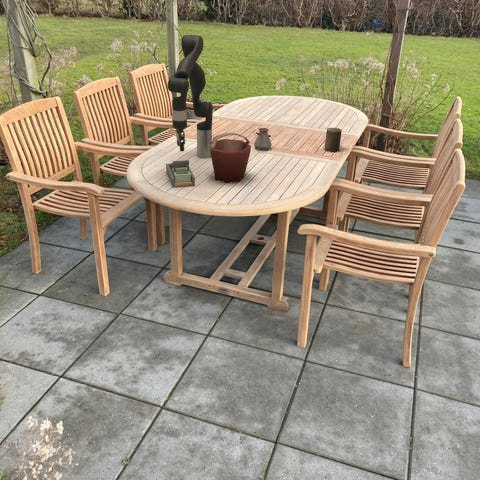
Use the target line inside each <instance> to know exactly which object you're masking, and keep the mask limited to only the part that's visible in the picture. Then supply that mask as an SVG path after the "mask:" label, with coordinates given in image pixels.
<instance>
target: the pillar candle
mask: <svg viewBox="0 0 480 480" xmlns="http://www.w3.org/2000/svg"><path fill="white" fill-rule="evenodd" d="M342 131H343V130H342V128H339V127H328V128H327V127H326V133H325V139H324V140H325V141H324V151H326V152H328V151H329V153H338V152H340V147H341V138H342ZM337 151H338V152H337Z"/></svg>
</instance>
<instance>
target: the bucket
mask: <svg viewBox="0 0 480 480" xmlns="http://www.w3.org/2000/svg"><path fill="white" fill-rule="evenodd" d="M229 136H238V137H240V138H243V139H244V140H245V141H243V140H241V139H231V138H230V139H229V138H224V137H229ZM221 138H222V139H221ZM250 143H251V141H250V139H248V137H246V136H244V135H241V134H240V133H237V132H226V133H225V132H224V133H221V134H218V135H215V136H212V142H210V146H209V148H210V153H211V157H210V158H211V159H210V160H211V163H212V168H213V174H214V179H215V180H216V181H218V182H222V183H225V184H228V183H229V184H231V182H232V183H239V182H241V181H242V180H243V179H245V176H246V170H247V168H248V163H249V160H250V156H251V155H250V154H251V147H252V146H251V144H250Z"/></svg>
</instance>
